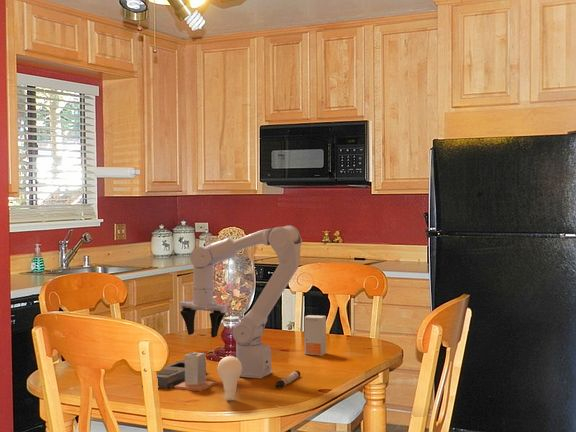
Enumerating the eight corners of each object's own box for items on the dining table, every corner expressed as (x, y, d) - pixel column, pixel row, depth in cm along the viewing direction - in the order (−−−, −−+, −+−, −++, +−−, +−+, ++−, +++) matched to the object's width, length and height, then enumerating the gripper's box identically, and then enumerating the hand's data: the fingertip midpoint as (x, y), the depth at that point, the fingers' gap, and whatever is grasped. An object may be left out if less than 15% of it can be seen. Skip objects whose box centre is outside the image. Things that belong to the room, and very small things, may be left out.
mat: (215, 384, 211) (215, 381, 211) (200, 391, 204) (200, 388, 204) (190, 381, 215) (190, 379, 215) (174, 388, 208) (174, 386, 207)
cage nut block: (205, 383, 210) (205, 352, 210) (197, 386, 207) (197, 355, 206) (193, 381, 212) (192, 351, 212) (185, 385, 209) (184, 354, 208)
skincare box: (304, 354, 247) (303, 316, 247) (308, 352, 251) (308, 314, 251) (322, 356, 245) (321, 317, 245) (326, 353, 249) (326, 315, 249)
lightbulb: (218, 397, 198) (217, 354, 197) (242, 396, 198) (241, 353, 198) (217, 404, 192) (217, 359, 191) (243, 403, 192) (242, 358, 192)
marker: (293, 377, 219) (293, 370, 219) (300, 377, 218) (300, 370, 218) (272, 390, 205) (271, 382, 205) (278, 391, 204) (278, 383, 204)
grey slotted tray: (205, 372, 225) (205, 361, 225) (167, 388, 207) (167, 377, 207) (182, 370, 229) (181, 359, 229) (142, 386, 210) (141, 374, 210)
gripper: (173, 288, 225) (173, 335, 225) (219, 292, 219) (218, 340, 220) (186, 285, 231) (185, 331, 232) (230, 289, 225) (229, 335, 226)
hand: (202, 335), depth 226 cm, fingers open, 7 cm apart
